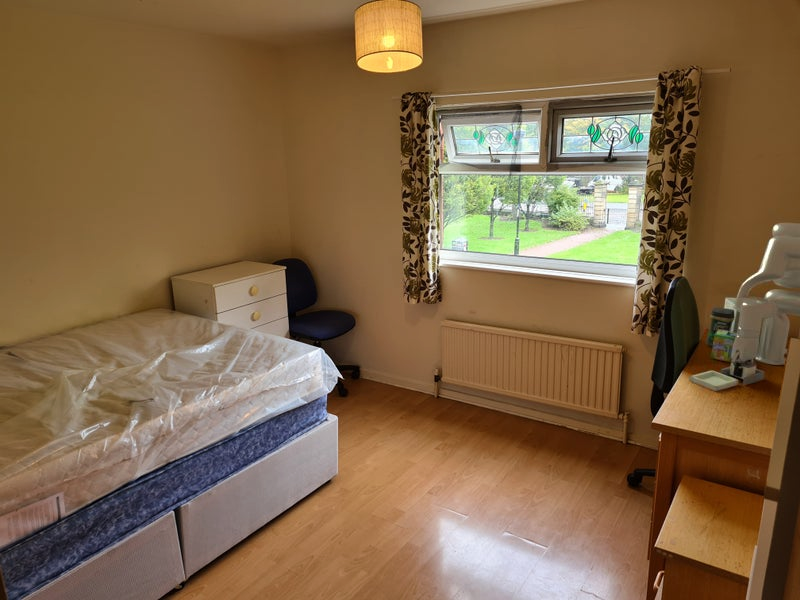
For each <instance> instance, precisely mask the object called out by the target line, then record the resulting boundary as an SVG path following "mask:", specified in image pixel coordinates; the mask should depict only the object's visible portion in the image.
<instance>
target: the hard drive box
mask: <svg viewBox="0 0 800 600" xmlns="http://www.w3.org/2000/svg"><path fill="white" fill-rule="evenodd" d="M736 298H737V297H725V299H724V307H723V308H726V309H733V310H734V317H735V318H734V320H733V322H732V327H731V332H737V331H738V324H739V317H740V313H739V312H737V311H736V309H735V301H736Z"/></svg>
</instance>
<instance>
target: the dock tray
mask: <svg viewBox="0 0 800 600" xmlns="http://www.w3.org/2000/svg"><path fill="white" fill-rule="evenodd" d="M689 381H690V382H691V383H694V384H697V385H699V386H702V387H703V388H706V389H709V390H712V391H714V392H718V391H722V390H725V389H729V388H731V387H736V386H738V385H739V379H737V378H734V377H732V376H730V375H724V374H721V372H719V371H718V372H717V371H715V370H708V371H705V372H701V373H696V374H693V375H690V376H689Z"/></svg>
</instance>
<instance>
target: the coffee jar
mask: <svg viewBox="0 0 800 600" xmlns="http://www.w3.org/2000/svg"><path fill="white" fill-rule="evenodd" d="M734 318H735V317H734V310H733V309H726V308H724V307H718V306H714V307H713V308H712V310H711V312H710V320H711V322H710V326H709V331H708V334H707V337H706V345H707V347H708V346H709V347H712V348H713V341H714V335H715V333H716V332H717V330H718V329H720V330H726V331H729V329H730V328H731V326H732V322H733V320H734ZM730 331H731V329H730Z"/></svg>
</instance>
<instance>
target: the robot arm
mask: <svg viewBox="0 0 800 600" xmlns="http://www.w3.org/2000/svg"><path fill="white" fill-rule="evenodd" d="M771 233H772V237H771V238H770V239H769V240H768V242H767V245H766V247H765V251H764V255H763V257H762V261H761V263H760V266H759V269H758V271H757V272H756V273H754V274H752V275H751V276H749V277H748V278H747V279H746V280H745V281H744V282H743V283H742V284H741V286H740V287H739V290H738V293H737V295H736V297H735V298H736V301H735V309H736V311H737V312H739V313H740V317H739V324H738V331H737V336H736V338H735V341H734V345H733V349H732V354H731V358H733V359H732V363H733V364H734V373H733V375H735V376H734V377H736V376H737V377H736V378H739V377H742V373H743V368H742V366H743V363H744V361H749V362H752V363H754V361H755V360H756V361H758V362H760V363H763V364H767V365H774V366H783V365H786V364H785V361H786V359H787V358H786V357H785V355H786V354H788V353H787V350H788V349H787V348H786V347H787V343H788V336H789V331H790V322H791V321H790V319H789V317H788V316H787V315H791V316H792V315H793V316H797V317H800V292H796V291H792V290H791V291H790V290H786V289H779V288H778V289H770V290H769V291H767V292H766V293H765V295H764V297H760V296H759V297H758V296H753V295H752V296H751V295H749V293H750V291H751V290H752V288H754V287H755V286H757V285H759V284H762V283H765V282H770V281H773V284H775V285H777V286H778V287H784V288H788V289H795V290H800V223H795V222H779V223H776V224H774V226H773V227H772V232H771ZM739 358H740V359H741V360H739ZM738 361H740V362H741V363H740V364H739V362H738ZM733 375H732V376H733Z"/></svg>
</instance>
